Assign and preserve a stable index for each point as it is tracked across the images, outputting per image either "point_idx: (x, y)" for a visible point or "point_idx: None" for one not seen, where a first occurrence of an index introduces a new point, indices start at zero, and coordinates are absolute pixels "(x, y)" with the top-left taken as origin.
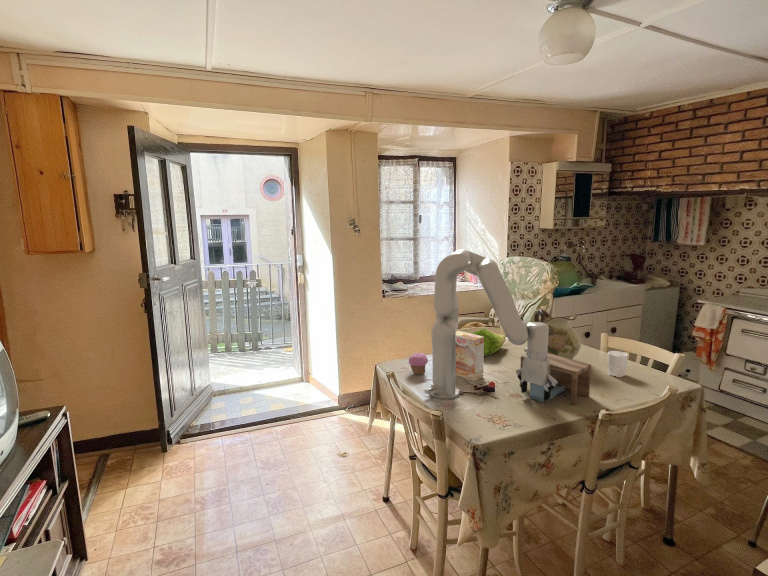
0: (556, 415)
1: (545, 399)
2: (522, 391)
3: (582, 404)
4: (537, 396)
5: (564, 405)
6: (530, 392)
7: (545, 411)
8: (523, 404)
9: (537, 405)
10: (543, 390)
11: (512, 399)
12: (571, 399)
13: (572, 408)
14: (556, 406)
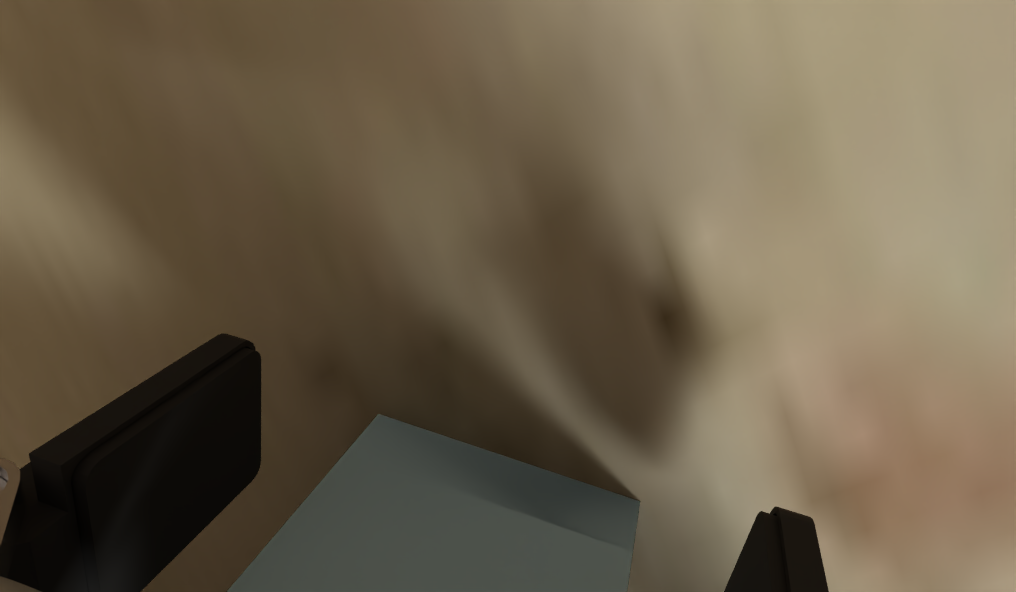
0: (23, 48)
1: (208, 350)
2: (781, 527)
3: None
4: (464, 502)
5: None
6: (615, 584)
7: (200, 88)
8: (647, 141)
9: (405, 256)
10: (244, 586)
11: (977, 263)
12: None
13: (42, 410)
14: None
